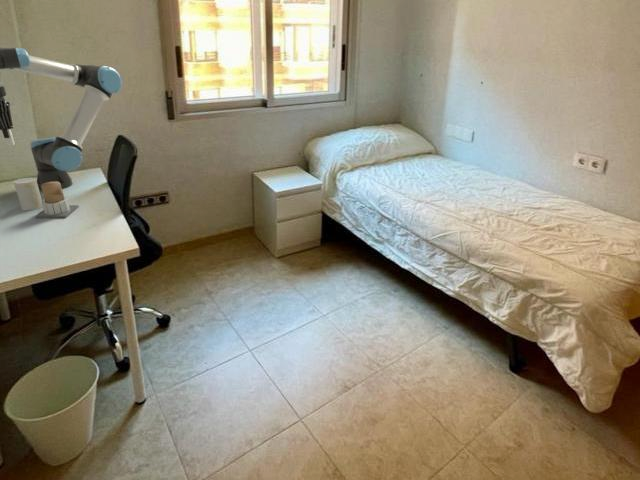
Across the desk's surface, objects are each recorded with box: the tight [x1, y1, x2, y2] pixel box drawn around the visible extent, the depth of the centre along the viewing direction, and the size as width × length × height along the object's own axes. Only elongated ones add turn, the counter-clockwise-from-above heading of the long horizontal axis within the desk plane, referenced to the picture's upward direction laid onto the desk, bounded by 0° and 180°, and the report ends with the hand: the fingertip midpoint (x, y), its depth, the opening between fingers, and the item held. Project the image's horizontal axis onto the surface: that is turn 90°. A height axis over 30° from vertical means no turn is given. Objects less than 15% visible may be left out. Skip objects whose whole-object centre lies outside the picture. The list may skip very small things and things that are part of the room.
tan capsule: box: [41, 182, 65, 203], centre depth 182 cm, size 7×7×11 cm
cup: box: [13, 177, 43, 211], centre depth 188 cm, size 8×8×12 cm
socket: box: [35, 196, 80, 219], centre depth 184 cm, size 12×12×6 cm
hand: (11, 145), depth 184 cm, fingers closed
